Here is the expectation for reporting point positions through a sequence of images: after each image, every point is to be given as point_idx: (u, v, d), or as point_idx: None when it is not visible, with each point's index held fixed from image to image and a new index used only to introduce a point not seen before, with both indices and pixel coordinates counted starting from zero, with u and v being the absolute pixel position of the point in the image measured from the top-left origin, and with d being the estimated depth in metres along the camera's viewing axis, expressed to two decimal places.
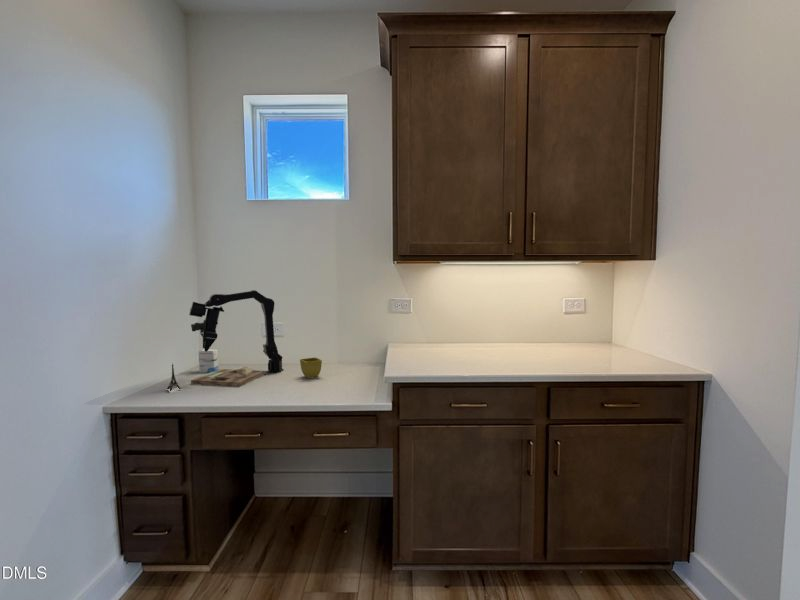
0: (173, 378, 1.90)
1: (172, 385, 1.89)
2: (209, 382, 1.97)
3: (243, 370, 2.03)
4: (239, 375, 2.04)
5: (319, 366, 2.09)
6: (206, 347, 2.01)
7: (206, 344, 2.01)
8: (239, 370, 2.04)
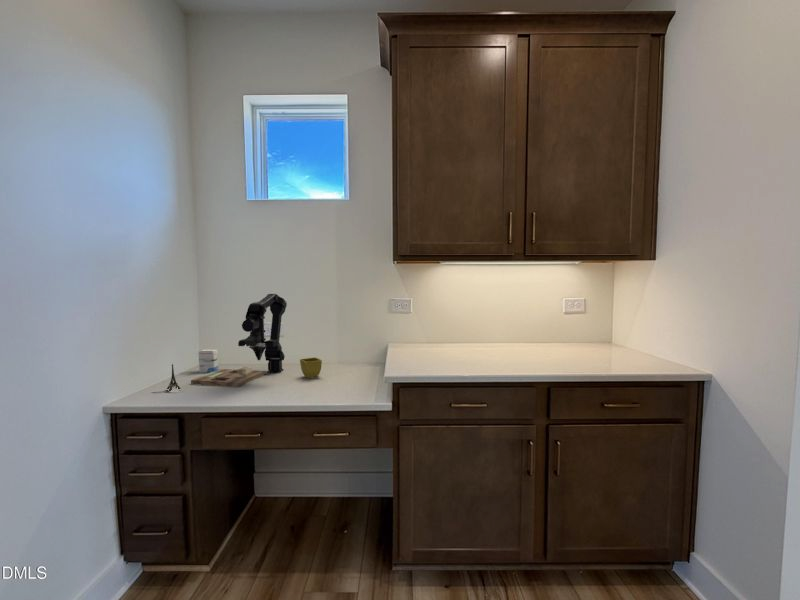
0: (173, 378, 1.90)
1: (172, 385, 1.89)
2: (209, 382, 1.97)
3: (243, 370, 2.03)
4: (239, 375, 2.04)
5: (319, 366, 2.09)
6: (260, 356, 2.04)
7: (260, 353, 2.03)
8: (239, 370, 2.04)
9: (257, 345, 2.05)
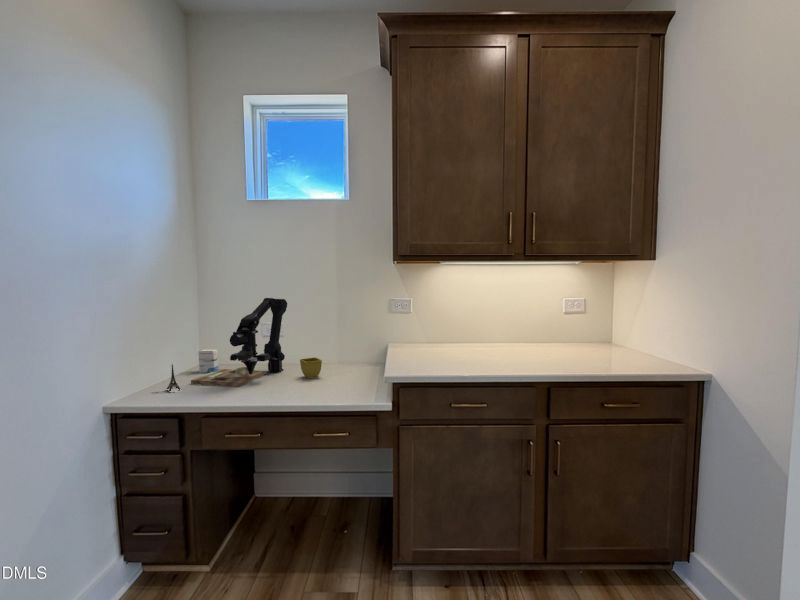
0: (173, 378, 1.90)
1: (172, 385, 1.89)
2: (209, 382, 1.97)
3: (241, 370, 2.04)
4: (237, 375, 2.04)
5: (319, 366, 2.09)
6: (252, 370, 2.05)
7: (252, 367, 2.05)
8: (237, 370, 2.04)
9: (249, 359, 2.06)
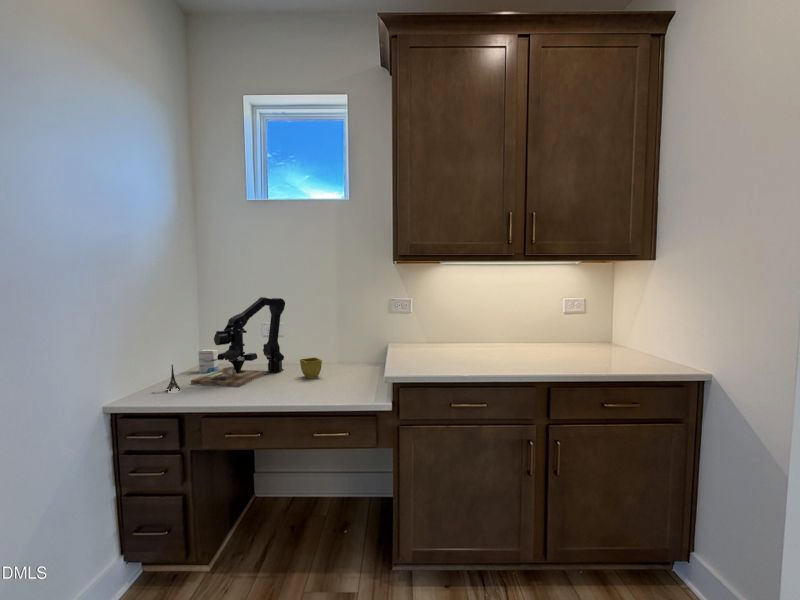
0: (173, 378, 1.89)
1: (172, 385, 1.88)
2: (209, 382, 1.97)
3: (228, 369, 2.05)
4: (225, 374, 2.05)
5: (319, 366, 2.09)
6: (239, 369, 2.06)
7: (239, 367, 2.06)
8: (224, 369, 2.05)
9: (236, 359, 2.08)
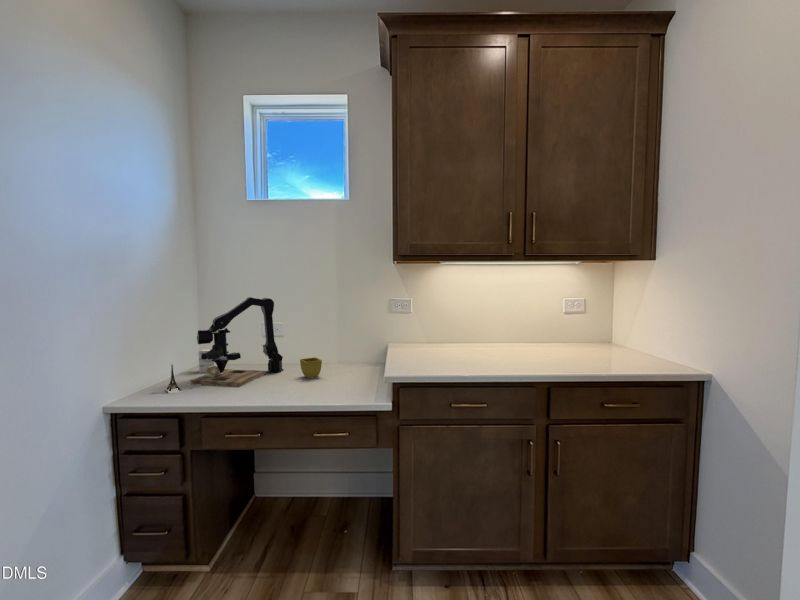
0: (172, 378, 1.89)
1: (172, 386, 1.88)
2: (209, 382, 1.97)
3: (212, 369, 2.06)
4: (208, 374, 2.07)
5: (319, 366, 2.09)
6: (222, 369, 2.08)
7: (223, 366, 2.08)
8: (208, 369, 2.07)
9: (220, 358, 2.09)
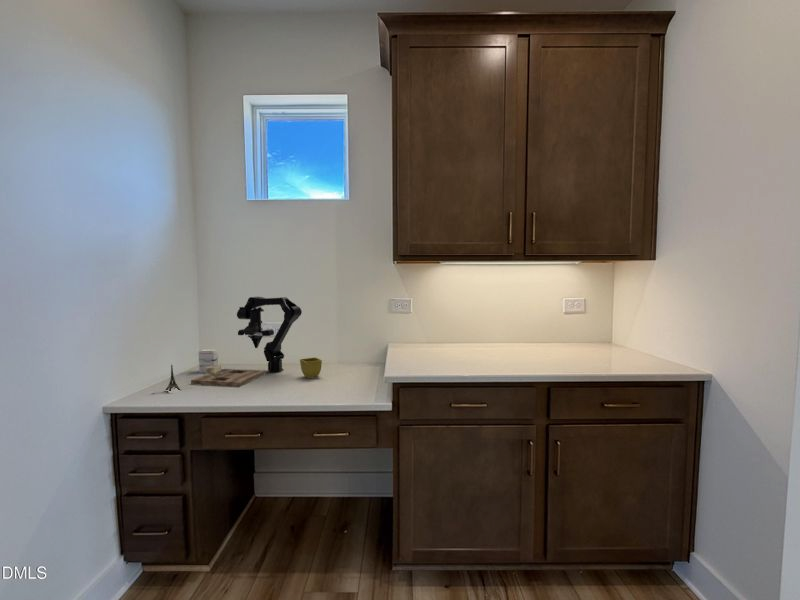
0: (172, 379, 1.89)
1: (171, 386, 1.88)
2: (209, 382, 1.97)
3: (212, 369, 2.06)
4: (208, 374, 2.07)
5: (319, 366, 2.09)
6: (257, 344, 2.27)
7: (257, 342, 2.26)
8: (208, 369, 2.07)
9: (255, 334, 2.28)
